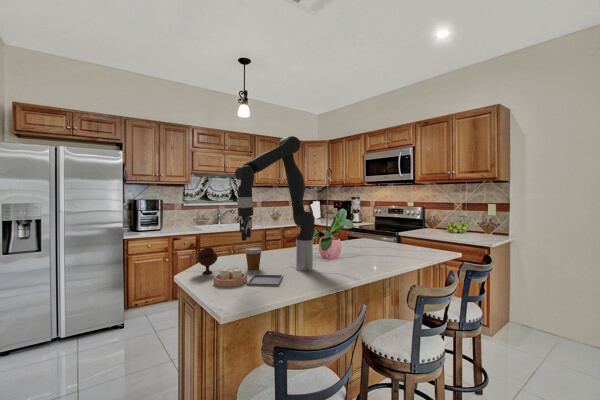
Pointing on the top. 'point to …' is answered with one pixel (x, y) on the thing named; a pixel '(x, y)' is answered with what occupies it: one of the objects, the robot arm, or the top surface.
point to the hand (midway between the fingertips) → (246, 238)
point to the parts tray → (264, 280)
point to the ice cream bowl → (207, 258)
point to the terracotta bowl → (230, 281)
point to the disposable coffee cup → (253, 258)
